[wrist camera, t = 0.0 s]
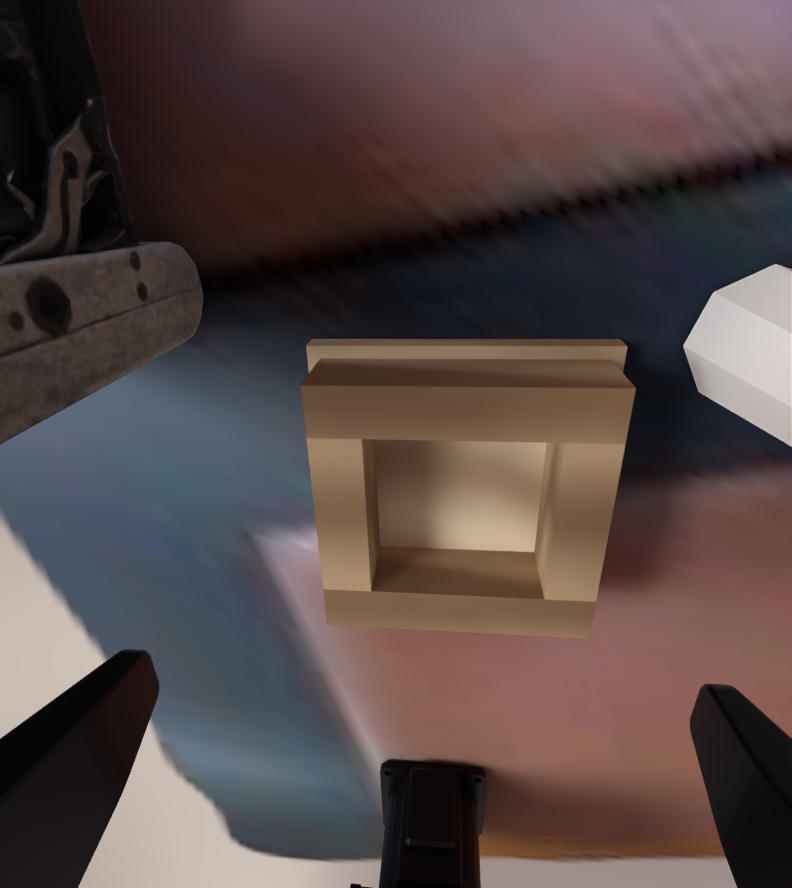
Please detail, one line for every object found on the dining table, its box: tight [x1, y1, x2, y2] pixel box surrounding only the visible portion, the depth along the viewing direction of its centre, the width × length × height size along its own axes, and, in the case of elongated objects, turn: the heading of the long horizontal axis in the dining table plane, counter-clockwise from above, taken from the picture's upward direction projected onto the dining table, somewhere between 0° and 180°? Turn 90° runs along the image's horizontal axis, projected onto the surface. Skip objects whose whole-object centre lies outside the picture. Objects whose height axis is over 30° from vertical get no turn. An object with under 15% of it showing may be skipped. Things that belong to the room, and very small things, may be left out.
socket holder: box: [300, 339, 636, 639], centre depth 22 cm, size 12×12×4 cm
